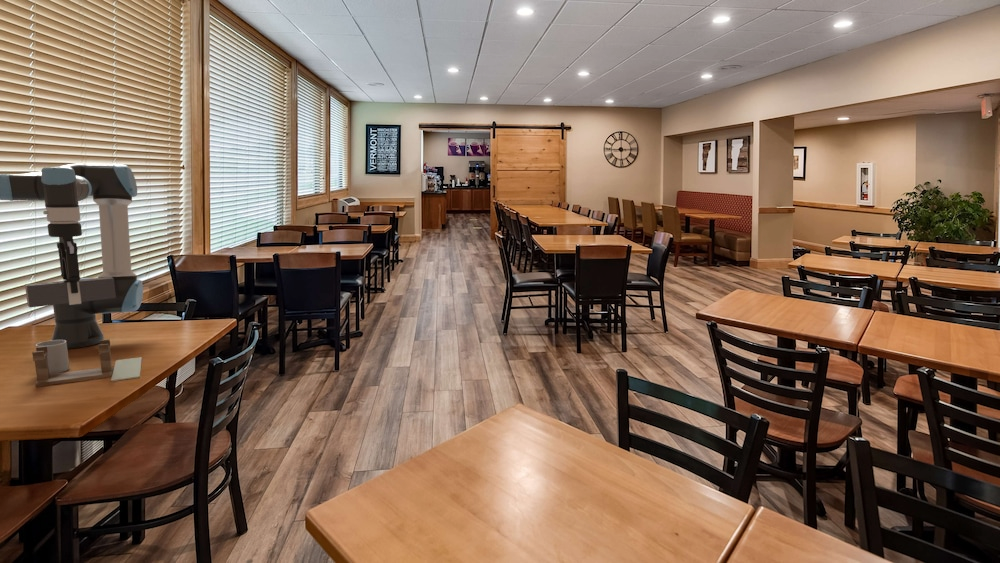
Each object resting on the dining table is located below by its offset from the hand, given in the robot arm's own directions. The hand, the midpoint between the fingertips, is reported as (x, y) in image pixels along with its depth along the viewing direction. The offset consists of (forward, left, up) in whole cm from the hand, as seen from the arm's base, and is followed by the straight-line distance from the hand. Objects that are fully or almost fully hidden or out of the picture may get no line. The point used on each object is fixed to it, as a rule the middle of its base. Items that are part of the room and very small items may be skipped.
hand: (73, 302), depth 160 cm
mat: (-2, +11, -23) cm, 25 cm away
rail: (0, 0, 0) cm, 0 cm away
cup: (-12, -8, -23) cm, 27 cm away
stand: (0, -1, -23) cm, 23 cm away
